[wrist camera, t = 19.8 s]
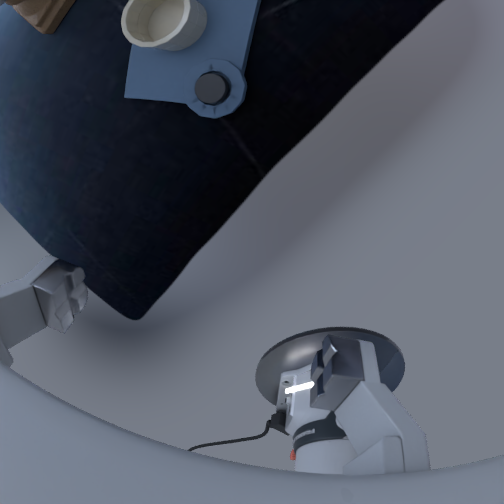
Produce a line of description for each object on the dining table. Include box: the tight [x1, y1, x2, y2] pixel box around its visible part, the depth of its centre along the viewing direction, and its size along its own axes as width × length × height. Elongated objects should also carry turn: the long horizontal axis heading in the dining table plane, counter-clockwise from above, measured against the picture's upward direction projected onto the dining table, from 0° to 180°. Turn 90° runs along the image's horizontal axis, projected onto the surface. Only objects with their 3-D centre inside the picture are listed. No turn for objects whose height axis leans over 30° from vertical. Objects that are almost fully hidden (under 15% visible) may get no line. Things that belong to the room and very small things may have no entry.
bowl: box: [121, 0, 207, 51], centre depth 20 cm, size 6×6×5 cm
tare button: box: [195, 73, 229, 103], centre depth 24 cm, size 3×3×1 cm
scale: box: [124, 0, 261, 118], centre depth 23 cm, size 14×13×3 cm
